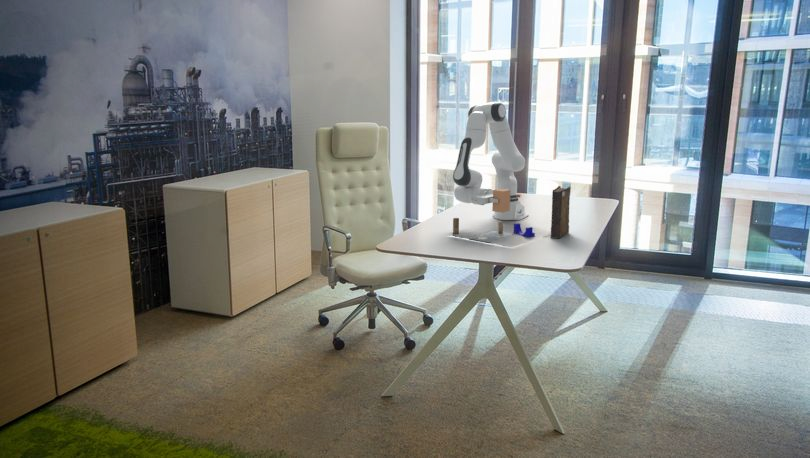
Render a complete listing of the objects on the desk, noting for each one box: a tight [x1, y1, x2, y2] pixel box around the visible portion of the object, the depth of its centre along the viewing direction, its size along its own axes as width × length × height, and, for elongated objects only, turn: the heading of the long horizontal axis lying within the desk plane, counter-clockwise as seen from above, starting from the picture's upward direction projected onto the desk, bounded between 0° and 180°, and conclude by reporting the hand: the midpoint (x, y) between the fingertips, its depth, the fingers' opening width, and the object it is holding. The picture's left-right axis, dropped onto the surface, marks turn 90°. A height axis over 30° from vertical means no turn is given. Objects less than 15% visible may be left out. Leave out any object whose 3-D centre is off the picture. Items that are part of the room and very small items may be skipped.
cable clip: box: [513, 222, 536, 238], centre depth 331 cm, size 12×4×6 cm, turn 26°
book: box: [550, 185, 571, 239], centre depth 331 cm, size 17×7×25 cm, turn 146°
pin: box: [452, 217, 460, 237], centre depth 334 cm, size 3×3×9 cm
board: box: [469, 220, 513, 244], centre depth 329 cm, size 22×12×7 cm, turn 138°
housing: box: [491, 188, 510, 213], centre depth 331 cm, size 6×6×11 cm
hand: (502, 199), depth 331 cm, fingers closed on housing, 6 cm apart
